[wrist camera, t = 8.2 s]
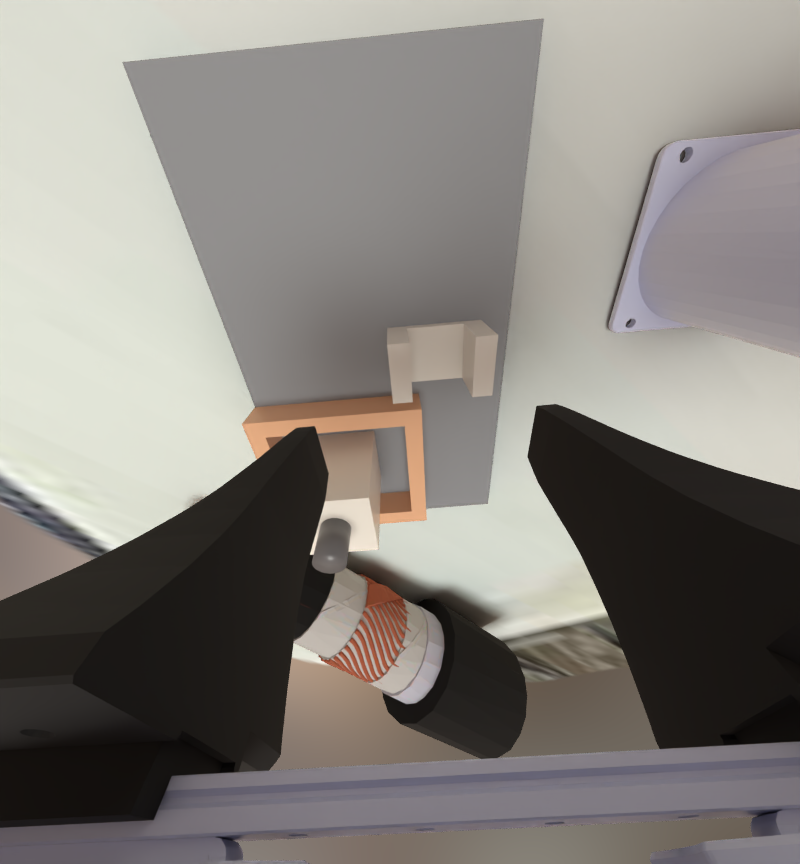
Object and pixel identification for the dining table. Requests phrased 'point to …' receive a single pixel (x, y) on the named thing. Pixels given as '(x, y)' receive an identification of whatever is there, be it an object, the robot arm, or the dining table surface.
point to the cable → (416, 660)
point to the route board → (356, 214)
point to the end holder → (348, 416)
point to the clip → (442, 356)
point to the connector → (348, 500)
